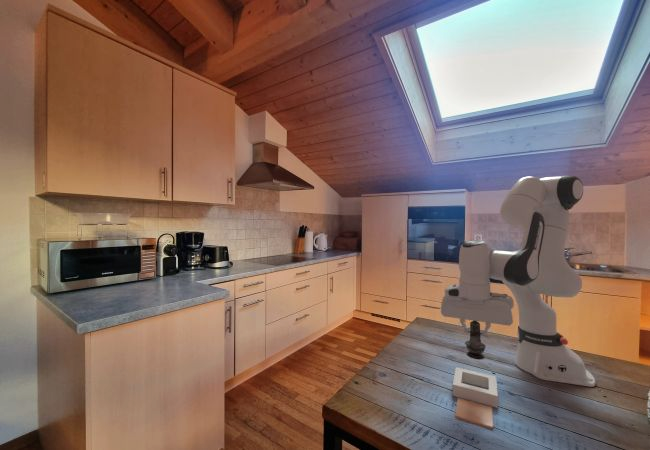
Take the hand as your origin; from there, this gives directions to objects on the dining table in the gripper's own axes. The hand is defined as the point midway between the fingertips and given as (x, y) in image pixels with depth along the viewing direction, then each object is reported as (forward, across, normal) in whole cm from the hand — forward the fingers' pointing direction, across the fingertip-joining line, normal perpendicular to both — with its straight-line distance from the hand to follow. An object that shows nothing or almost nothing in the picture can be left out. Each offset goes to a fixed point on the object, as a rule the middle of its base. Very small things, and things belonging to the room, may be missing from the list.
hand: (475, 333), depth 88 cm
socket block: (+18, 0, 0) cm, 19 cm away
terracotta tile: (+18, 0, +12) cm, 22 cm away
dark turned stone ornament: (+7, 0, 0) cm, 7 cm away
